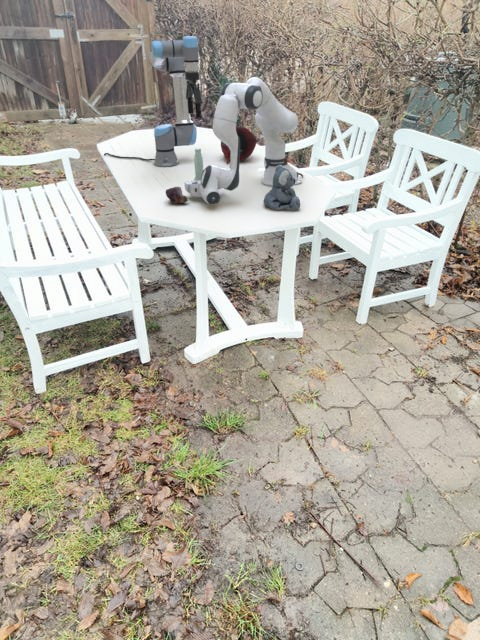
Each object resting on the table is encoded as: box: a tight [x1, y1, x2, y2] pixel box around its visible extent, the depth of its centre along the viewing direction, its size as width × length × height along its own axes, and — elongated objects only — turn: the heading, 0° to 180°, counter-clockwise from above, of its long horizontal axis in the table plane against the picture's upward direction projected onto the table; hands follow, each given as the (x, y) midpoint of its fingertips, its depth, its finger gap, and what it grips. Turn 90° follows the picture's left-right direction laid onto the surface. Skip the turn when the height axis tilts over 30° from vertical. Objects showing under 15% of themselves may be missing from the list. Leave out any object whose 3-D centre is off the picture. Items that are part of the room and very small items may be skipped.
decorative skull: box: [220, 125, 257, 164], centre depth 297 cm, size 21×24×25 cm
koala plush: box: [263, 165, 301, 211], centre depth 223 cm, size 17×18×20 cm
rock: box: [165, 186, 188, 204], centre depth 232 cm, size 12×9×10 cm
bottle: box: [193, 147, 204, 181], centre depth 244 cm, size 5×5×22 cm
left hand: (194, 115), depth 245 cm, fingers open, 13 cm apart
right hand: (200, 180), depth 244 cm, fingers open, 8 cm apart
